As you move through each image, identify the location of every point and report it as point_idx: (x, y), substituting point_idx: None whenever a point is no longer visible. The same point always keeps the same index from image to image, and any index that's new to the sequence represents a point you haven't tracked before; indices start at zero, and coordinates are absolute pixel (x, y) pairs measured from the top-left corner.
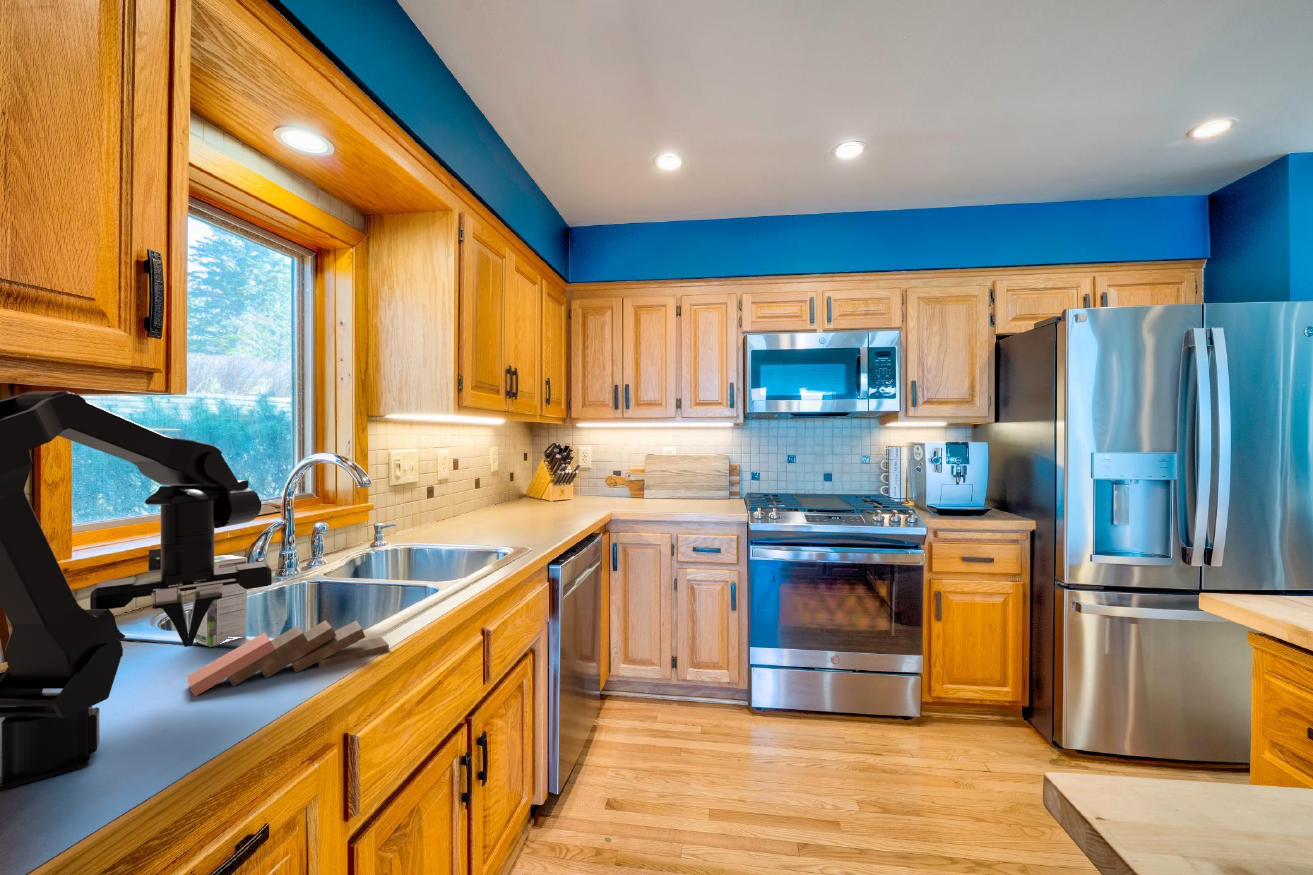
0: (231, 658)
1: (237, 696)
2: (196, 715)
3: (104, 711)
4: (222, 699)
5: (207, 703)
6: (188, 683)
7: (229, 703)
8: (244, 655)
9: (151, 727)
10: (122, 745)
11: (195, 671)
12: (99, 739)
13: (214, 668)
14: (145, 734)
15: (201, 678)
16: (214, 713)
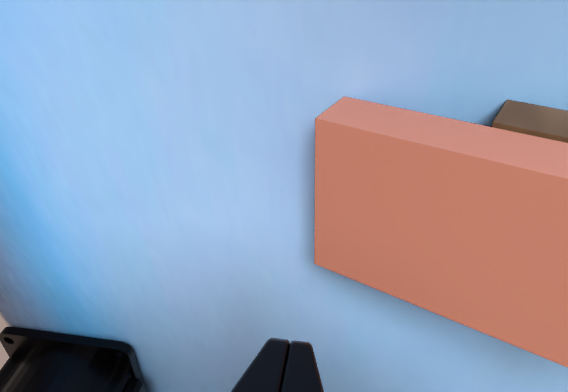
0: (503, 286)
1: (449, 322)
2: (329, 356)
3: (72, 147)
4: (406, 312)
5: (364, 309)
6: (315, 225)
7: (415, 349)
8: (548, 358)
9: (233, 346)
10: (190, 381)
11: (350, 129)
12: (141, 387)
13: (417, 258)
14: (225, 368)
15: (358, 267)
16: (368, 374)
